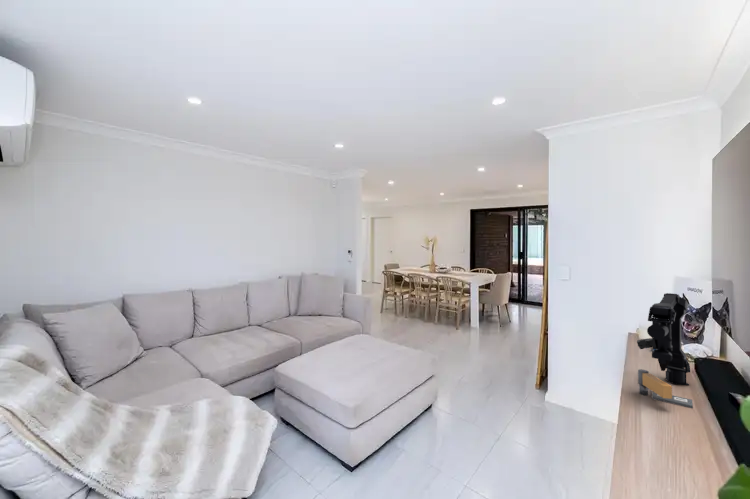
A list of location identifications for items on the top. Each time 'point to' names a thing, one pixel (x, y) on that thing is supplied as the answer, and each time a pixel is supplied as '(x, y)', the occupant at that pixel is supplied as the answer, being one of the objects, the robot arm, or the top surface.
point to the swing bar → (654, 384)
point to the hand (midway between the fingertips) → (662, 370)
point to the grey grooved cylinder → (643, 390)
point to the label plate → (674, 400)
